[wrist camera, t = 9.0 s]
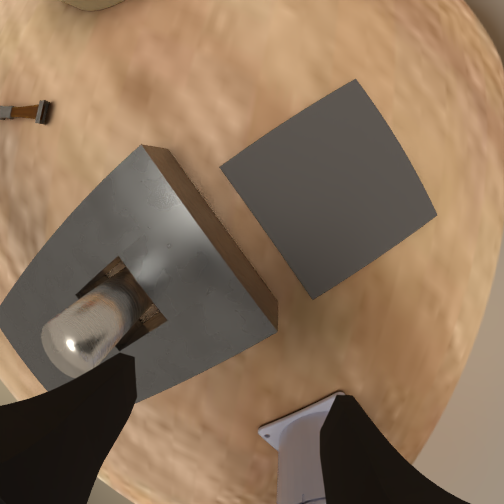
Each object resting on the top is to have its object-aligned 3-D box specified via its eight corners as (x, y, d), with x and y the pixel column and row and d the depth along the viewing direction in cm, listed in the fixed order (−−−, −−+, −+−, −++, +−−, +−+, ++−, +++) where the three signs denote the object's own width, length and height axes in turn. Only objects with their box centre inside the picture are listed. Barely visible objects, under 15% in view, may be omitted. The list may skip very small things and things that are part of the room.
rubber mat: (434, 214, 17) (437, 215, 17) (312, 297, 20) (312, 300, 19) (354, 80, 16) (355, 78, 16) (220, 167, 18) (219, 167, 18)
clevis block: (277, 301, 20) (277, 331, 16) (98, 399, 24) (80, 425, 20) (167, 149, 18) (141, 144, 14) (20, 300, 22) (-7, 316, 18)
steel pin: (171, 290, 20) (104, 370, 11) (140, 307, 21) (68, 384, 12) (148, 252, 20) (64, 311, 11) (118, 271, 20) (32, 332, 11)
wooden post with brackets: (-11, 105, 17) (-35, 101, 13) (59, 106, 20) (43, 99, 16) (-15, 124, 17) (-39, 123, 13) (55, 126, 20) (38, 123, 16)
